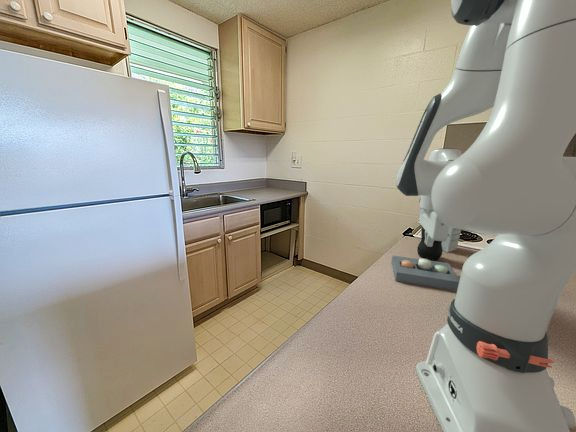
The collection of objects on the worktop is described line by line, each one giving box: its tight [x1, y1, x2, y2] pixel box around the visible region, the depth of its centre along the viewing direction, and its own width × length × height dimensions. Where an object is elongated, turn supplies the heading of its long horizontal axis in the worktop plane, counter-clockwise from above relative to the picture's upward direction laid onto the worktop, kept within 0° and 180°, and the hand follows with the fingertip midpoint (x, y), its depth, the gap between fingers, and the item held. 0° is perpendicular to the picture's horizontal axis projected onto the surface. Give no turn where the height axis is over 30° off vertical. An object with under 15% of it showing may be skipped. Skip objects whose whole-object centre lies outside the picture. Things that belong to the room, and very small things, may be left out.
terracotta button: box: [401, 260, 414, 268], centre depth 82 cm, size 4×4×2 cm
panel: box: [391, 255, 460, 292], centre depth 81 cm, size 14×18×3 cm
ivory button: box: [418, 258, 432, 269], centre depth 80 cm, size 4×4×2 cm
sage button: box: [434, 265, 448, 274], centre depth 79 cm, size 4×4×2 cm
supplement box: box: [442, 227, 462, 253], centre depth 105 cm, size 7×7×13 cm
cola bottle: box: [417, 225, 443, 261], centre depth 92 cm, size 8×8×30 cm
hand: (428, 245), depth 78 cm, fingers closed
